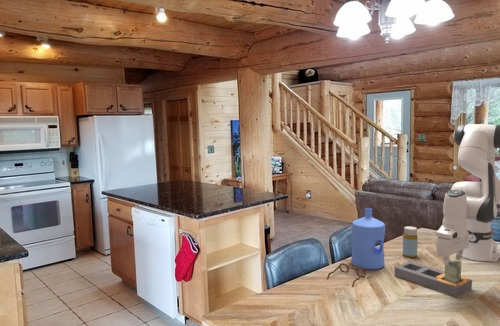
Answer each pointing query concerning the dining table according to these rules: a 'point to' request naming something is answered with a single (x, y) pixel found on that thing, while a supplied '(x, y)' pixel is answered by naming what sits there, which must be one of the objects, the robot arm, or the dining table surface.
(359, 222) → the water jug
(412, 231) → the lidded canister
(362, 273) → the glasses
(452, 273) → the peg
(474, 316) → the dining table surface
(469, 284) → the board
